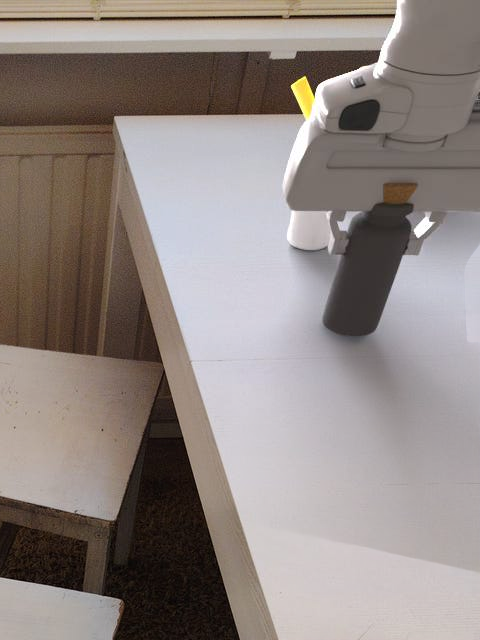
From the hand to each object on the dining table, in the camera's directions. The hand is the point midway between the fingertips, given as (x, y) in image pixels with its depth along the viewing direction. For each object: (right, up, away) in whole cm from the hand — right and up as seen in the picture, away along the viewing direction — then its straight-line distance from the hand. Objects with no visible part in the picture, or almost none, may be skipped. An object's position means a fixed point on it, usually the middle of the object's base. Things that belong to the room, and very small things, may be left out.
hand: (371, 252), depth 83 cm
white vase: (+1, +10, +20) cm, 22 cm away
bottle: (0, -5, +6) cm, 8 cm away
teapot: (+12, +30, +35) cm, 48 cm away
